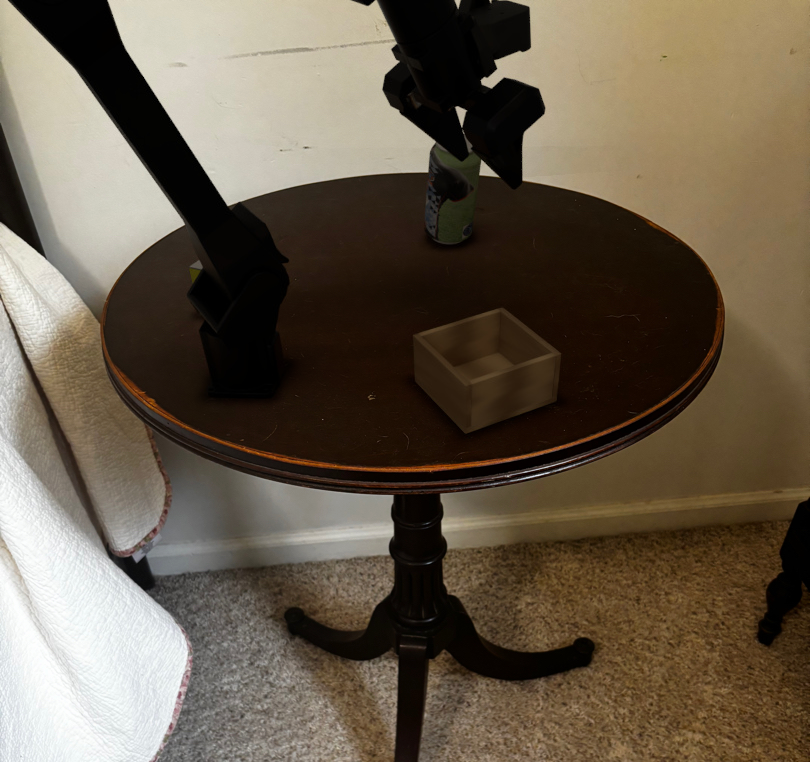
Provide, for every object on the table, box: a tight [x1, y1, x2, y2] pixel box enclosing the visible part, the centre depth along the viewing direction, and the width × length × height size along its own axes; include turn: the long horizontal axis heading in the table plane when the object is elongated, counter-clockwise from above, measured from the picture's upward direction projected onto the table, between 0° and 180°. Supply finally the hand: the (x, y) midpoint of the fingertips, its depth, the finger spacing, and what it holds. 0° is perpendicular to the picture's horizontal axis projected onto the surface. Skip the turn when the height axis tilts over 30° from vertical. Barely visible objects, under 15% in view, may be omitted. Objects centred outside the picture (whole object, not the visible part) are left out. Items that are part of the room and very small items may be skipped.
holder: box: [412, 307, 562, 435], centre depth 74 cm, size 10×10×5 cm
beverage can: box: [423, 134, 482, 245], centre depth 95 cm, size 6×7×12 cm
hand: (490, 171), depth 79 cm, fingers open, 9 cm apart
